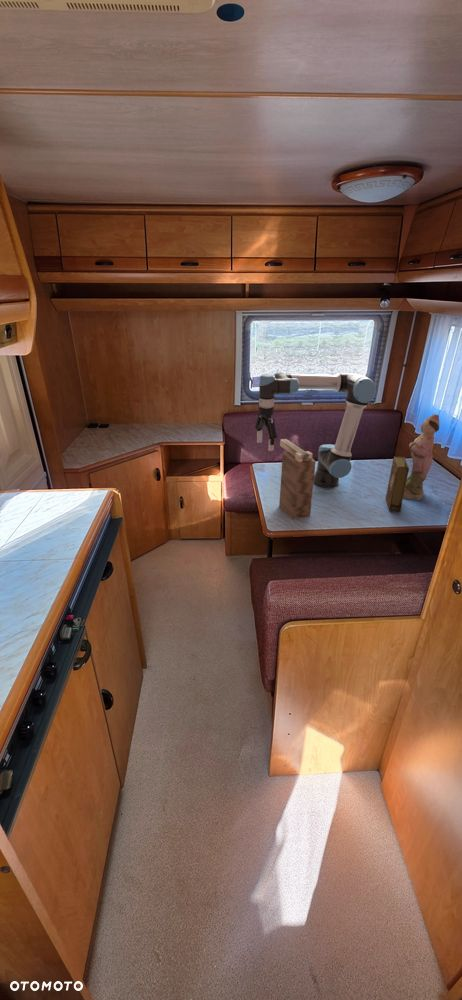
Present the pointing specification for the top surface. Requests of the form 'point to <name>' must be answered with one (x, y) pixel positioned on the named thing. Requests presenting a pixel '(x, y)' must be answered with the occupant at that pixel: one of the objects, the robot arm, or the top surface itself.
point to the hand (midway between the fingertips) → (265, 446)
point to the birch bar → (296, 451)
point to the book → (397, 483)
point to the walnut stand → (296, 486)
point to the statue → (421, 458)
